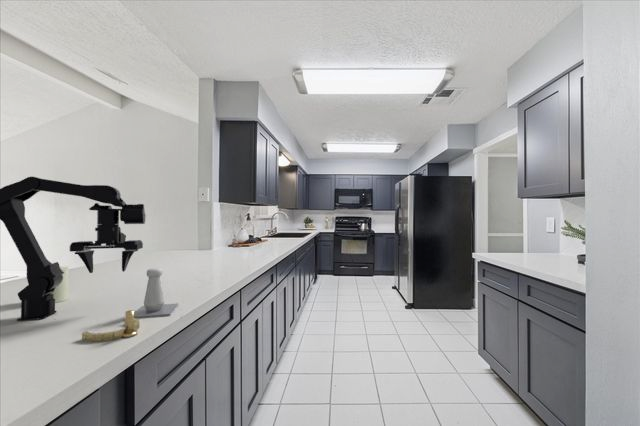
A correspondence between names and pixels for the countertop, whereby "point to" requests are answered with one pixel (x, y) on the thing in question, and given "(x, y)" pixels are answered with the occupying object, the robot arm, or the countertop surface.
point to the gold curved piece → (127, 332)
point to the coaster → (164, 311)
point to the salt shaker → (154, 291)
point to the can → (61, 287)
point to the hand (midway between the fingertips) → (107, 272)
